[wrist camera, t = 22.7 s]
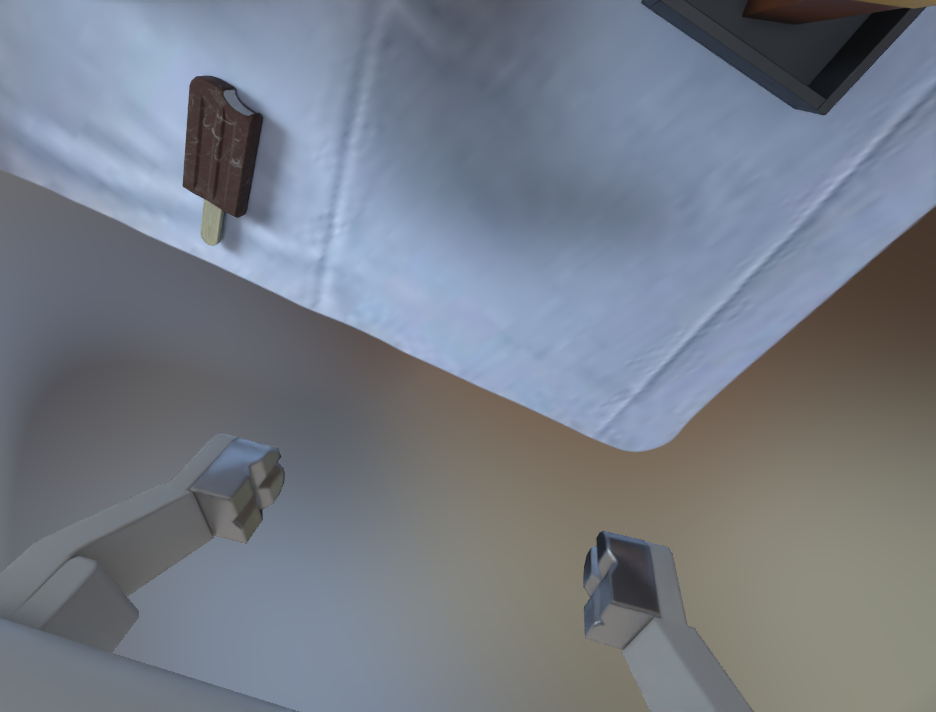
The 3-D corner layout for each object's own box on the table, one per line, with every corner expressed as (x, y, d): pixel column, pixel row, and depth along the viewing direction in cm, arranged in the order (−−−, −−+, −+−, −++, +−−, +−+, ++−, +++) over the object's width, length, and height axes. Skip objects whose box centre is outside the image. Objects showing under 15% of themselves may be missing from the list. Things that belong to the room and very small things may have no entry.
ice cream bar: (239, 254, 42) (265, 105, 34) (228, 260, 41) (253, 107, 32) (190, 226, 42) (204, 67, 33) (178, 232, 40) (189, 68, 32)
